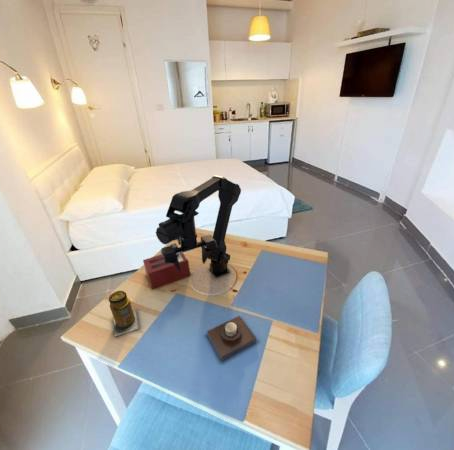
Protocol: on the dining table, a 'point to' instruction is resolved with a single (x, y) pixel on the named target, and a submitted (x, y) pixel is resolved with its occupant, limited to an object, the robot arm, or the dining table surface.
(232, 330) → the button
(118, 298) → the condiment
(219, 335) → the control block
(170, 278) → the toaster
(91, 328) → the dining table surface
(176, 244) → the toaster slider
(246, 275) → the dining table surface
